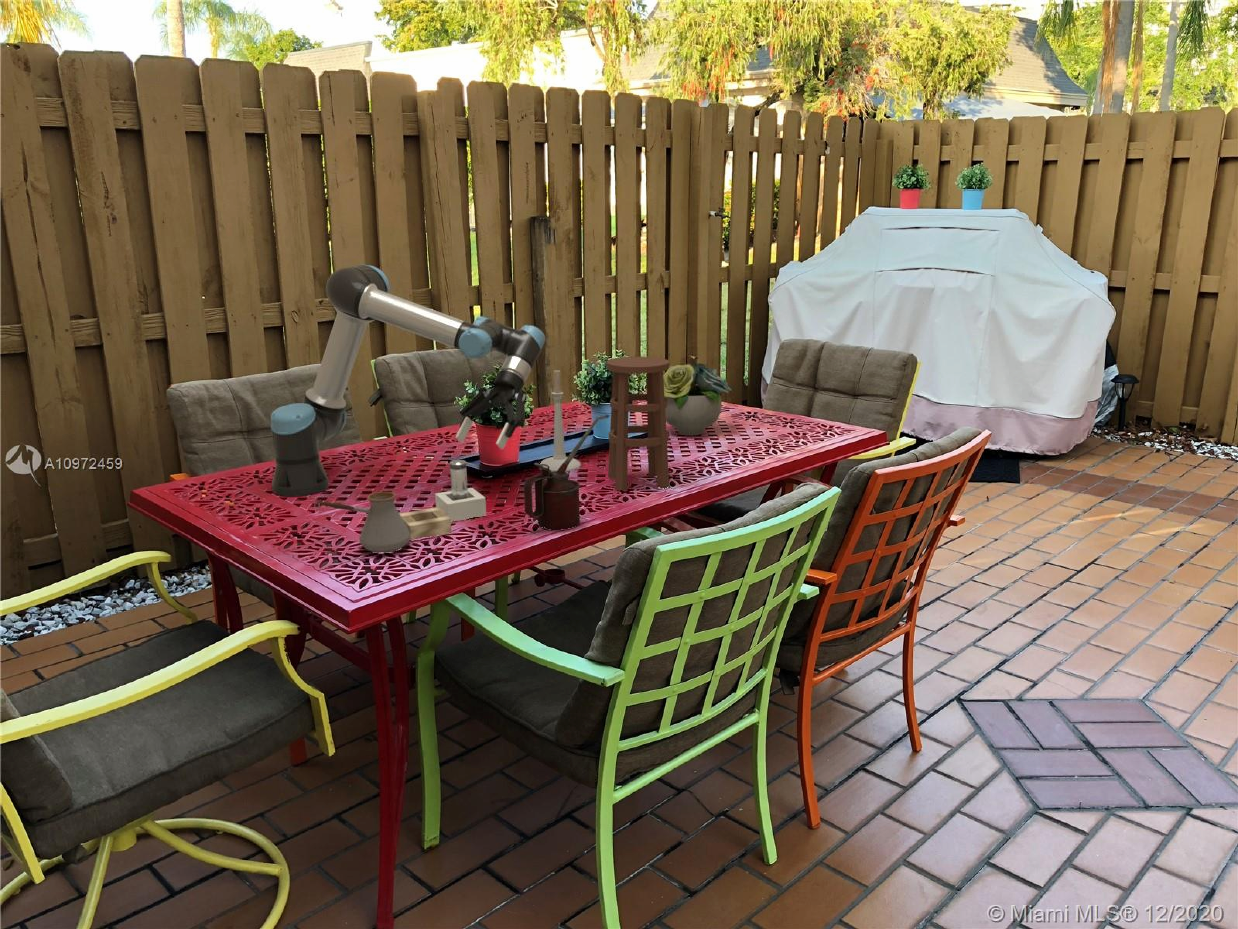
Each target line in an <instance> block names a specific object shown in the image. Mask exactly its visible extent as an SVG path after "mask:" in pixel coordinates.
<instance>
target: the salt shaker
mask: <svg viewBox="0 0 1238 929" xmlns="http://www.w3.org/2000/svg"><path fill="white" fill-rule="evenodd" d="M449 468H450V469H449V470H450V471H449V472H450V483H451V491H452V501H455V500H461V499H467V498H468V489H467V488H468V477H467V476H468V475H467V461H466V460H464V459H455V460H454V459H453V460H451V461H449Z"/></svg>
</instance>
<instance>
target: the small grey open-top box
mask: <svg viewBox="0 0 1238 929" xmlns="http://www.w3.org/2000/svg"><path fill="white" fill-rule="evenodd" d="M467 489H468V498H467V499H461V500H455V501H452V490H448V491H444V492H443V491H442V492H438V493H436V492H435V493H434V496H435V497H434V498H435V508H436V507H438V508H439V509H440V510H441V511H442V512H443V513H445V514H446V515H447V516H448V517H449V518H450V519H451V522H452V521H457V520H464V521H467V520H466V519H469V518H473V517H481V516H486V517H487V504H486V502H487V501H486V500H487V499H486V497H485V496H484V495H482V494H481V493H480V492H478V491H477V490H475V488H473V487H467ZM481 518H482V517H481ZM469 520H470V519H469Z"/></svg>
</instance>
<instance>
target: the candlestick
mask: <svg viewBox="0 0 1238 929" xmlns="http://www.w3.org/2000/svg"><path fill="white" fill-rule="evenodd" d="M561 380H562V378H561V370H558V369H556V370H553V389H554V390H553V392H551V395H553V396H552V397H553V400H554V420H553V421H554V425H553V426H554V427H553V456H551V457H547V458H544V459H543V460H542V461H540V462H541V463H540V462H539V463H540V464H546V465H548V466H549V469H550V470H551V471H552V472H553V471H557V470H558V469H559V467H560V466H561V465H562V463H564V462H565V460H566V459H567V458H568V456H567V455H566V448H565V447H566V446H565V435H564V422H563V411H562V404H561V402H562V399H563V394H564V392H563V391H562V388H561V387H562V386H561V384H562V383H561V382H562V381H561ZM581 465H582V464H581V462H580V461H579V460H578V459H576V458H574V457H573V459H572V460H571V462H570V463H569V465H568V467H567V469H566V471H565V472H567V473H568V472H572V470H573V471H576V470H579V468H581V467H582V466H581ZM580 466H581V467H580ZM543 467H546V468H548V467H547V466H543ZM575 469H576V470H575ZM539 470H541V468H539Z"/></svg>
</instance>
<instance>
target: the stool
mask: <svg viewBox="0 0 1238 929" xmlns="http://www.w3.org/2000/svg"><path fill="white" fill-rule="evenodd" d="M605 364H606V365H605V366H606V369H607V371H610V372H612V385H611V386H612V387H611V388H612V389H611V398H610V399H609V407H610V409H611V410H610V426H609V429H610V430H609V432H608V440H609V449H608V450H609V452H608V471H607V473H608V474H607V475H608V476H607V478H608V477H609V478H613V479H615V480H614V491H615V490H626V489H627V490H628V467H629V466H628V465H629V464H628V462H629V459H628V456H629V453H628V452H629V449H628V448H631V447H632V448H646V447H647V458H648V459H647V460H648V461H647V464H648V477H651V476H657V477H656V488H657V487H660V488H664V489H665V488H667V487H668V486H669V487H670V476H669V473H670V472H669V459H668V458H669V455H668V442H669V440H670V433H669V431H668V430H667V422H666V415H665V408H667V399H666V398H665V396H664V377H663V375H664V372H665V371H667V370H668V369H669V367H670V360H668V359H665V358H661V357H655V356H623V357H615V358H611V359H608V360H607V361H605ZM630 374H640V375H641V374H646V393H630V390H629V388H630ZM635 401H636V402H646V404H630V403H629V402H635ZM629 413H646V415H647V418H646V420H647V425H629ZM629 434H647V438H629ZM613 479H612V480H613ZM627 490H626V491H627ZM665 490H666V489H665Z"/></svg>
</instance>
